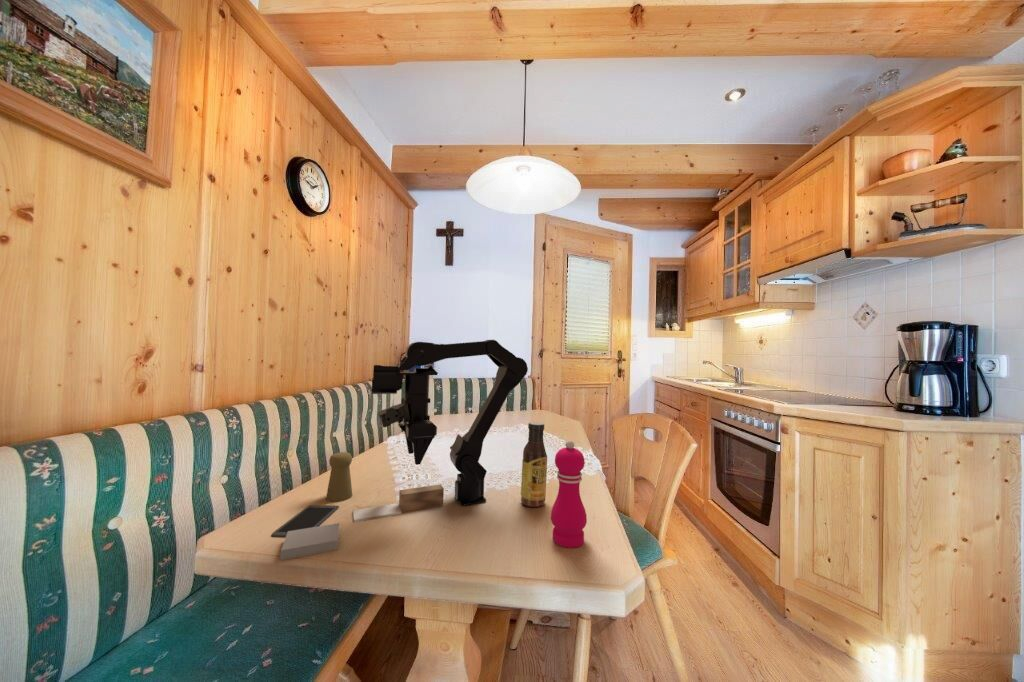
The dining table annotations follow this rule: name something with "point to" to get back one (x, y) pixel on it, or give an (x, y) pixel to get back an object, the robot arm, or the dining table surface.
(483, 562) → the dining table surface
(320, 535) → the tile
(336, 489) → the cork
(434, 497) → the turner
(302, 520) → the cell phone
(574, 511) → the pepper mill
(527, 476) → the sauce bottle
